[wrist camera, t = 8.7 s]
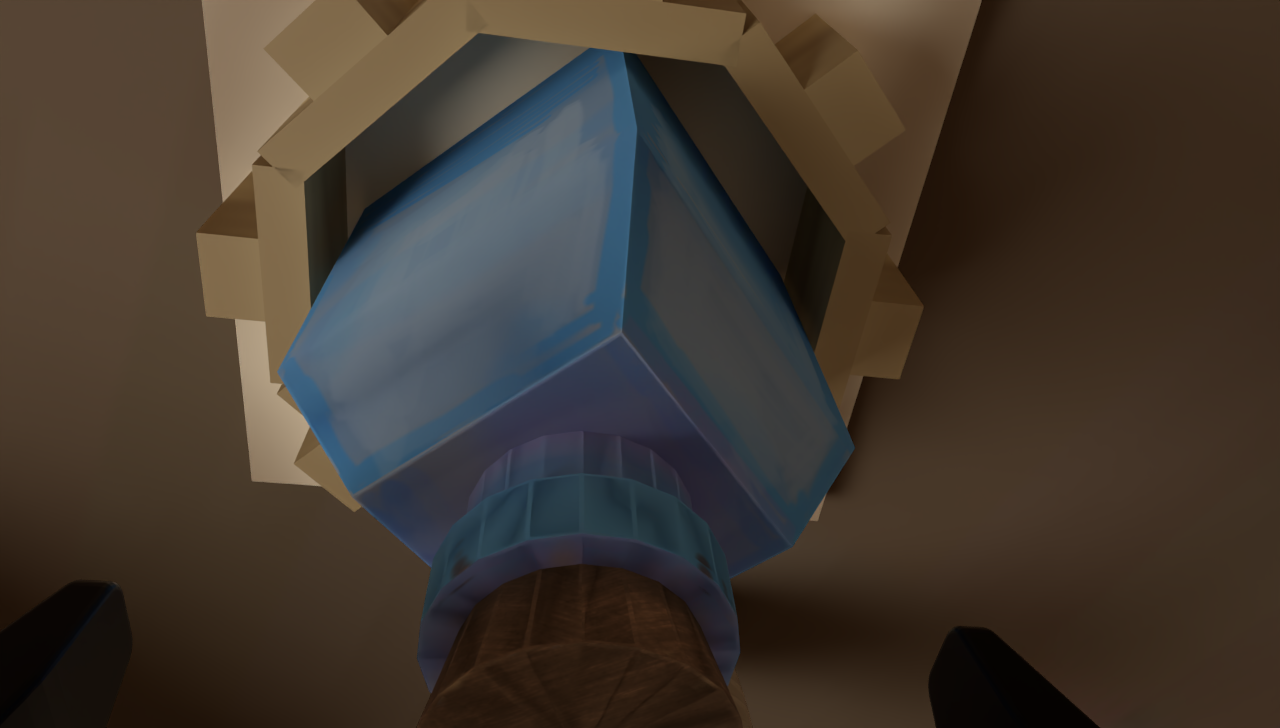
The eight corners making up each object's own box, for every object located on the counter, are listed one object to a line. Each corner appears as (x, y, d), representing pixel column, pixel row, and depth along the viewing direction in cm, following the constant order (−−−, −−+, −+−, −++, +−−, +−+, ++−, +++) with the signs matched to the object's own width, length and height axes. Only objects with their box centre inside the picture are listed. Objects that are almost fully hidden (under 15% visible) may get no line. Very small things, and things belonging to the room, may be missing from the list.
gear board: (984, -82, 17) (1086, -55, 14) (809, 495, 24) (846, 608, 21) (202, -204, 15) (93, -209, 12) (264, 455, 22) (207, 571, 19)
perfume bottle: (549, 414, 21) (521, 984, 11) (364, 208, 18) (89, 721, 8) (780, 275, 19) (1002, 787, 9) (618, 26, 17) (682, 373, 6)
